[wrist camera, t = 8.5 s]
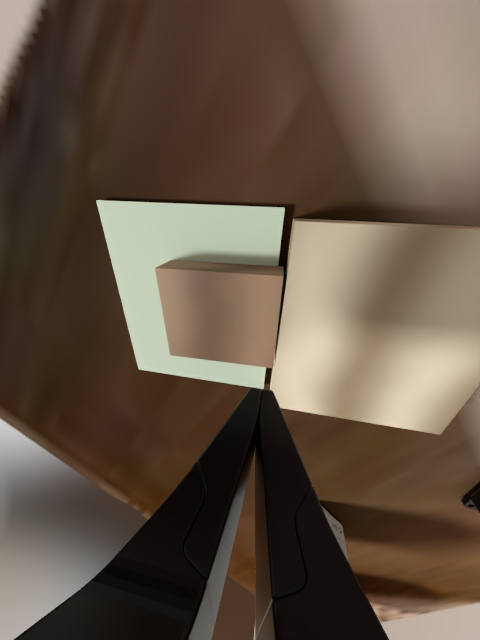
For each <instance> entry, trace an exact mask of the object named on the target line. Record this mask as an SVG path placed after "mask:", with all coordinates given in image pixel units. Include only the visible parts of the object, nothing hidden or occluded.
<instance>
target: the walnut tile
mask: <svg viewBox="0 0 480 640" xmlns="http://www.w3.org/2000/svg"><path fill="white" fill-rule="evenodd" d="M155 272H156V277H157V283H158V289H159V295H160V300H161V306H162V312H163V317H164V323H165V329H166V334H167V340H168V346H169V352H170V355H172V356H180V357H188V358H196V359H204V360H211V361H219V362H227V363H235V364H243V365H250V366H258V367H266V368H273V365H274V356H275V347H276V338H277V330H278V321H279V312H280V303H281V294H282V286H283V277H284V267H283V266H266V265H249V264H232V263H214V262H197V261H180V260H170V261H168V262H166V263H164V264H162V265H160V266H158V267H156V268H155Z"/></svg>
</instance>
